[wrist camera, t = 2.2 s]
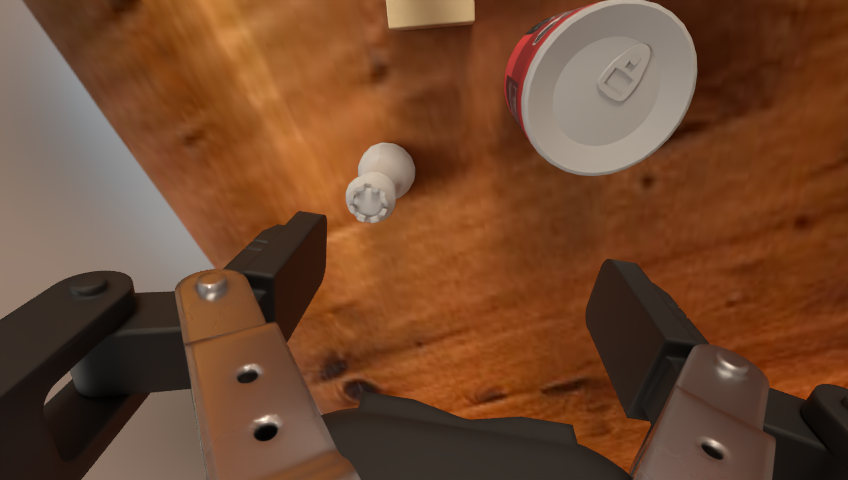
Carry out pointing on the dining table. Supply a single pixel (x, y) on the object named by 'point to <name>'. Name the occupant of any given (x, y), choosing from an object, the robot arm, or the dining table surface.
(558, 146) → the canned food
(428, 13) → the maple block
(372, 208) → the rook chess piece
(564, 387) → the dining table surface
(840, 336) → the dining table surface
